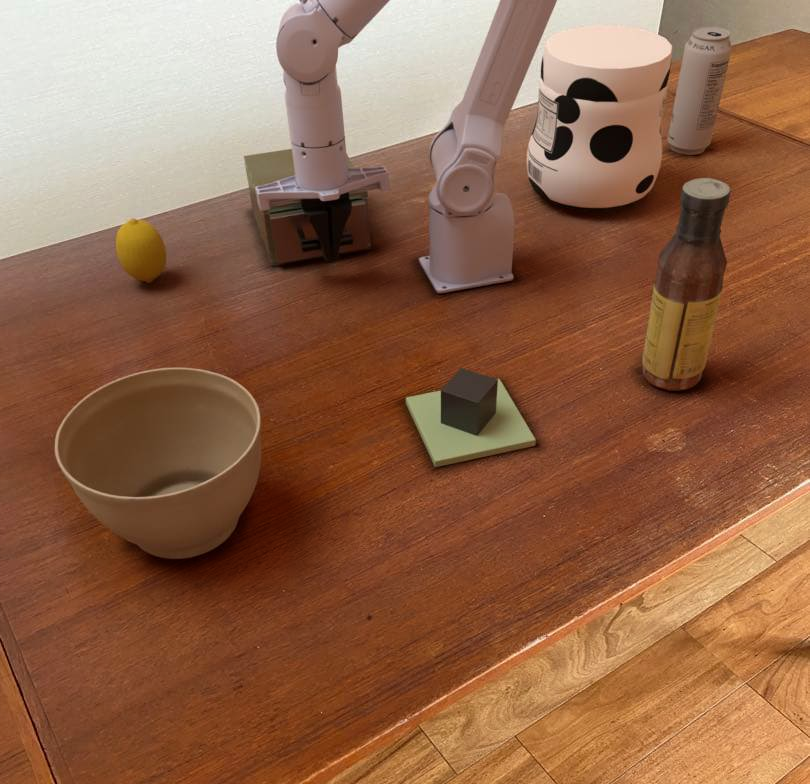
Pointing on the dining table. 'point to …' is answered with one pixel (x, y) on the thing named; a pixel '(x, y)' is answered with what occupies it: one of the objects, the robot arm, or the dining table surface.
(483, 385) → the block
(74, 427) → the planter bowl
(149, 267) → the lemon
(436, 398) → the plate
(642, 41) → the milk container
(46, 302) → the dining table surface
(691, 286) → the sauce bottle
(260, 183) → the olive box frame
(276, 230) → the cabinet drawer
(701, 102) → the energy drink can
